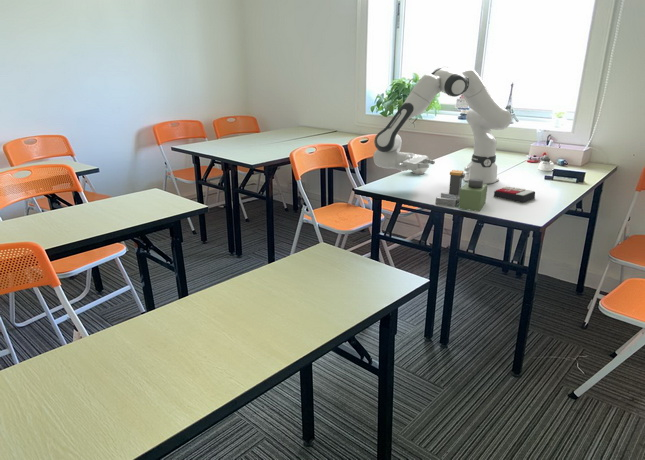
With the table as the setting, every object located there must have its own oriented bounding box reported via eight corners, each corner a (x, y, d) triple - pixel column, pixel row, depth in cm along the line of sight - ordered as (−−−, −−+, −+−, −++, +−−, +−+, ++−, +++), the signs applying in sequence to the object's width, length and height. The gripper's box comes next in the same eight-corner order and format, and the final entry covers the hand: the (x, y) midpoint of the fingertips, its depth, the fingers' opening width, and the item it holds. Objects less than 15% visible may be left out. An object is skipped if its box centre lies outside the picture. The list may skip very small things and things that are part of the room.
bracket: (435, 203, 217) (436, 197, 216) (441, 198, 225) (441, 192, 224) (455, 206, 213) (455, 200, 212) (460, 201, 220) (460, 195, 219)
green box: (458, 208, 211) (460, 182, 206) (464, 200, 221) (467, 175, 217) (479, 211, 206) (482, 184, 202) (485, 203, 217) (488, 177, 213)
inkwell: (555, 168, 279) (558, 151, 275) (551, 175, 265) (554, 157, 261) (538, 167, 283) (541, 150, 280) (533, 173, 269) (536, 156, 266)
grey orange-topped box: (447, 196, 228) (449, 172, 223) (450, 194, 232) (452, 169, 228) (461, 198, 225) (463, 173, 221) (463, 195, 229) (465, 171, 225)
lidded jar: (405, 172, 276) (406, 156, 273) (421, 170, 280) (422, 154, 277) (416, 176, 267) (417, 159, 264) (431, 174, 271) (432, 158, 268)
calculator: (506, 185, 233) (535, 190, 222) (505, 194, 234) (534, 199, 223) (494, 189, 226) (523, 194, 215) (493, 198, 228) (523, 203, 217)
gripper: (397, 158, 226) (425, 161, 219) (411, 151, 242) (438, 154, 236) (396, 171, 228) (424, 174, 221) (410, 163, 245) (436, 166, 238)
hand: (431, 164), depth 229 cm, fingers open, 8 cm apart
